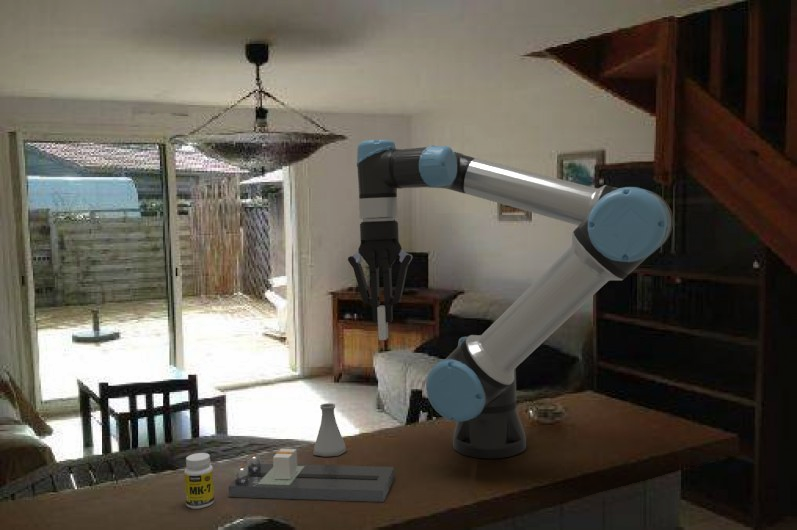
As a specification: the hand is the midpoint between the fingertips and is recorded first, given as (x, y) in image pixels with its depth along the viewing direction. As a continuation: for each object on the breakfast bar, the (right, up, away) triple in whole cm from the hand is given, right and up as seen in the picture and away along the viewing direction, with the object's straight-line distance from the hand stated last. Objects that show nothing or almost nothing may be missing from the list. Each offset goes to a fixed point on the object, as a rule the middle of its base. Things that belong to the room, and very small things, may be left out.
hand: (383, 338), depth 137 cm
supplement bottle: (-32, -27, -17) cm, 45 cm away
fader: (-18, -24, -11) cm, 32 cm away
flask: (-11, -25, +7) cm, 28 cm away
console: (-12, -26, -12) cm, 31 cm away
